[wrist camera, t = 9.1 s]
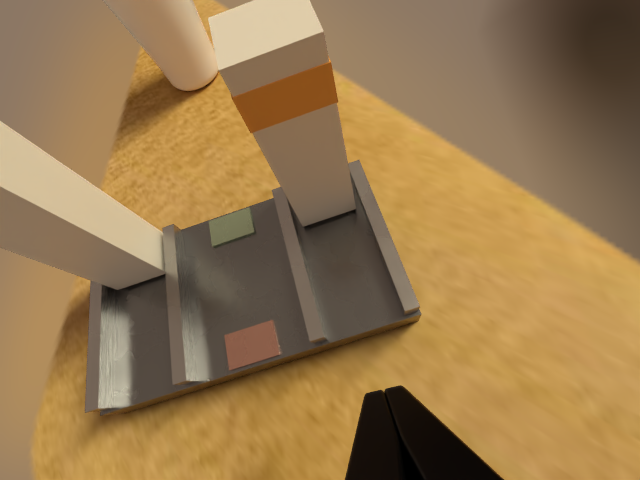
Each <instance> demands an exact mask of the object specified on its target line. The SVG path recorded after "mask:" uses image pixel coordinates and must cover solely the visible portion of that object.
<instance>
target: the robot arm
mask: <svg viewBox="0 0 640 480" xmlns="http://www.w3.org/2000/svg"><path fill="white" fill-rule="evenodd" d="M345 480H504V479H503V478H502V477H500V476H499V475H498V474H497V473H496V472H495V471H494V470H493V469H492V468H491V467H490V466H489V465H488V464H486V463H485V462H484V461H483V460H482V459H481V458H480V457H479V456H478V455H477V454H476V453H475V452H474V451H472V450H471V449H470V448H469V447H468V446H467V445H466V444H465V443H464V442H463V441H462V440H461V439H460V438H458V437H457V436H456V435H455V434H454V433H453V432H452V431H451V430H450V429H449V428H448V427H447V426H446V425H444V424H443V423H442V422H441V421H440V420H439V419H438V418H437V417H436V416H435V415H434V414H433V413H432V412H430V411H429V410H428V409H427V408H426V407H425V406H424V405H423V404H422V403H421V402H420V401H419V400H418V399H416V398H415V397H414V396H413V395H412V394H411V393H410V392H409V391H408V390H407V389H406V388H405V387H403V386H396V387H391V388H387V389H385V391H384V392H383V391H382V390H378V391H374V392H370V393H366V394H365V396H364V400H363V404H362V408H361V413H360V417H359V421H358V426H357V430H356V434H355V438H354V443H353V447H352V451H351V456H350V460H349V464H348V468H347V473H346V477H345Z"/></svg>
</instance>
